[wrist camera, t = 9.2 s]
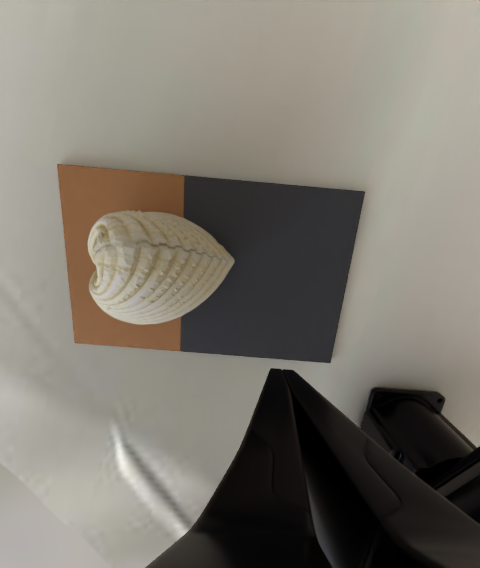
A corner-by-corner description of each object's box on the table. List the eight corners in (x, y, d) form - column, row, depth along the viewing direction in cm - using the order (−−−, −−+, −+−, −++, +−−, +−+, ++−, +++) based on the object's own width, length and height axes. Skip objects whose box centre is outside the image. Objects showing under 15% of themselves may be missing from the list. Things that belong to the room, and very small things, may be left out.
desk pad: (362, 192, 18) (365, 191, 17) (328, 360, 21) (330, 363, 21) (60, 165, 17) (56, 164, 17) (77, 340, 21) (74, 343, 20)
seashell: (56, 199, 15) (129, 148, 11) (164, 234, 22) (235, 211, 18) (47, 328, 14) (124, 329, 10) (163, 322, 21) (238, 321, 17)
